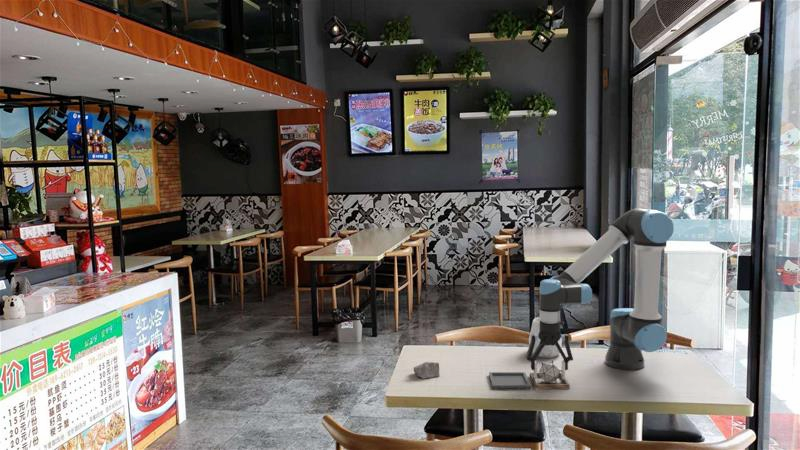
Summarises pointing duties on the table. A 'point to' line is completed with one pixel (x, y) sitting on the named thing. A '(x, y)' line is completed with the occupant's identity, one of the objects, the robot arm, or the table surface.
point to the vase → (547, 350)
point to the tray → (509, 380)
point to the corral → (550, 386)
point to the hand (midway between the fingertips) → (549, 378)
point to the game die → (549, 372)
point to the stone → (427, 370)
